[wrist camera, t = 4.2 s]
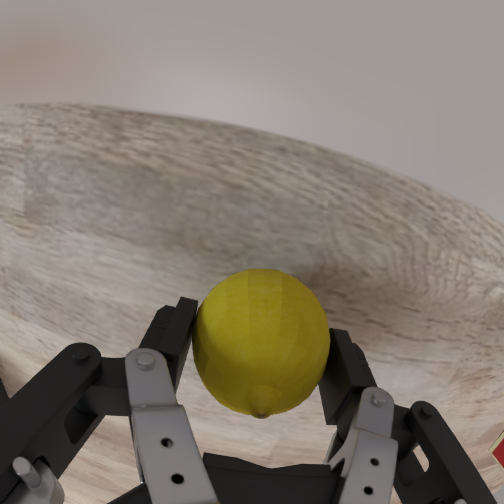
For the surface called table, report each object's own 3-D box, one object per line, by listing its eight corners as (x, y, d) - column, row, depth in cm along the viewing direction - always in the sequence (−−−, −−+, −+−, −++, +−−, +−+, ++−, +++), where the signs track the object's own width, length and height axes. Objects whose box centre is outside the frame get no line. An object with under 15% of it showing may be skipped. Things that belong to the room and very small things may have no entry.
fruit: (319, 244, 15) (372, 347, 7) (307, 337, 17) (330, 456, 9) (205, 240, 15) (158, 342, 7) (208, 333, 17) (182, 452, 9)
